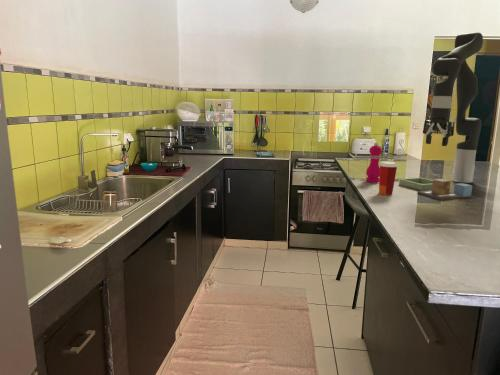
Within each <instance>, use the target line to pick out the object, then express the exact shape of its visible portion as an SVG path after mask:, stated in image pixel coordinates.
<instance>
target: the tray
mask: <svg viewBox="0 0 500 375" xmlns="http://www.w3.org/2000/svg"><path fill="white" fill-rule="evenodd" d="M432 184H433V179H428V178H425V177H412V178H411V177H410V178H409V177H408V178H399V183H398V186H401V187H405V188H408V189H413V190H417V191H427V190H432Z"/></svg>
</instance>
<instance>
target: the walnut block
mask: <svg viewBox="0 0 500 375" xmlns="http://www.w3.org/2000/svg"><path fill="white" fill-rule="evenodd" d="M432 180H433V184H432V191H431V193H434V194H438V195H448V194H449V192H450V188H451V182H452V180H449V179H445V178H444V179H443V178H436V179H434V178H433V179H432Z"/></svg>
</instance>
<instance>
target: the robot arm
mask: <svg viewBox="0 0 500 375" xmlns="http://www.w3.org/2000/svg"><path fill="white" fill-rule="evenodd" d="M483 44H484V36H483V34H482V33H481V32H467V33H460V34H457V35H456V37H455V40H454V49H452V50H451V51H450V52H448V54H446V55H443V56H441V57H438V58H437V59H436V60H435V61H434V63H433V64H432V67H431V68H432V73H433V74H434V76H437V77H447V78H446V79H445V80H443V81H442V80H441V81H438V82H436V83H435V85H434V91H433V98H432V102H431V109H430V116H429V117H430V118H431V119H430V120H429V119H426V120H424V124H423V129H422V134H425V144H426V145H431V144H432V136H433V133H434V132H440V133H441V135H442V136H443V137H442V142H441V146H442V147H447V145H448V144H449V138H450V137H453V136H454V135H455V134H454V133H455V131H456V134H457V135H458V136H463V137H469V138H468V139H467V140H464V141H462V142H458V143H457V144H456V150H455V155H454V156H455V157H454V164H453V171H452V177H451V182H452V181H453V182H456V183H464V184H470V183H473V180H474V174H475V167H476V164H475V162H476V154H477V148H478V145H479V144H478V143H479V139H480V135H481V130H482V120H481V119H480V118H479V117H478V118H477V117H466V113H467V110H468V109H469V106H470V105H471V104H472V103H473V101H474V100H475V99H476V97H477V95H478V92H479V83H478V82H479V80H478V77H477V75H476V74H475V72H474V71H473V70H472V68H470V66H469V64H468V63H467V59H468V58H470V57H472V56H473V55H476V54H477V53H479V52H480V51H481V50H482V48H483ZM455 83H456V118H455V119H456V120H455V121H456V122H455V121H449V119H450V116H451V109H452V100H453V99H452V97H453V89H454V85H455Z"/></svg>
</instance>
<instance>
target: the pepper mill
mask: <svg viewBox="0 0 500 375" xmlns="http://www.w3.org/2000/svg"><path fill="white" fill-rule="evenodd" d="M368 152H369V154H370V155H369V159H370V163H369V165H368V167H367V168H366V170H365V171H366V172H365V174H366V176H367V177H366V180H365V181H366V182H367V181H368V182H367V183H372V182H378V183H379V175H380V165H379V164H380V162H379V161H380V159H381V155H382V153H383V150H382V147H381V146H379V143H378V142H375V143H374V145H372V146H370V148H369V150H368Z"/></svg>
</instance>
